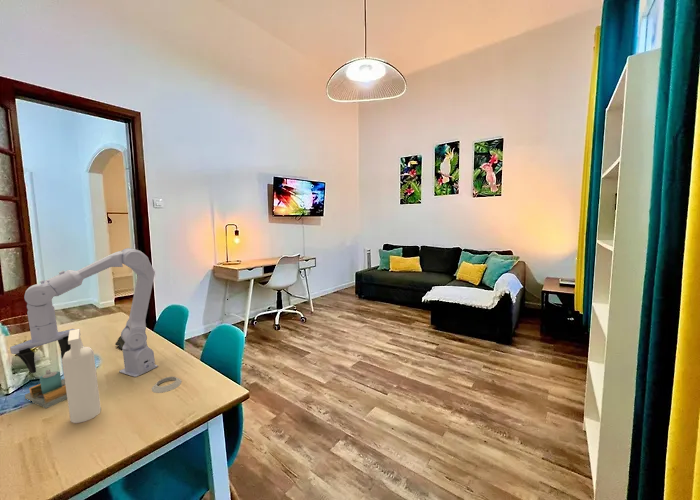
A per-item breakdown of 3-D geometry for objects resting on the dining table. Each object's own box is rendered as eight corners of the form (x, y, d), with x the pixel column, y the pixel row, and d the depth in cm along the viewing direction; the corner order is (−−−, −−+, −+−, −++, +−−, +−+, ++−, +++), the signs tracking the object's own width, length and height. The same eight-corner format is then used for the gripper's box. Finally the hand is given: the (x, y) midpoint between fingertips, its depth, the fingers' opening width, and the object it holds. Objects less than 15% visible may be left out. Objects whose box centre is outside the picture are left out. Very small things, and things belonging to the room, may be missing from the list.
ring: (155, 382, 101) (155, 377, 101) (183, 377, 104) (183, 372, 104) (148, 396, 93) (147, 391, 93) (179, 390, 96) (178, 385, 96)
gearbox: (90, 388, 97) (89, 378, 97) (45, 408, 87) (44, 397, 87) (70, 380, 102) (68, 371, 102) (25, 399, 92) (23, 388, 92)
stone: (112, 352, 123) (110, 340, 122) (120, 340, 135) (119, 329, 134) (132, 349, 126) (131, 337, 125) (139, 337, 138) (137, 326, 137)
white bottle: (103, 397, 92) (90, 320, 88) (102, 419, 82) (87, 334, 78) (73, 407, 88) (58, 326, 84) (69, 431, 78) (52, 342, 74)
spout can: (64, 388, 94) (61, 369, 94) (45, 396, 90) (42, 376, 90) (59, 384, 97) (56, 366, 96) (39, 392, 93) (36, 373, 92)
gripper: (66, 314, 99) (71, 353, 101) (2, 330, 86) (9, 375, 87) (78, 317, 96) (83, 357, 98) (14, 334, 83) (21, 380, 85)
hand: (49, 365), depth 92 cm, fingers open, 7 cm apart
